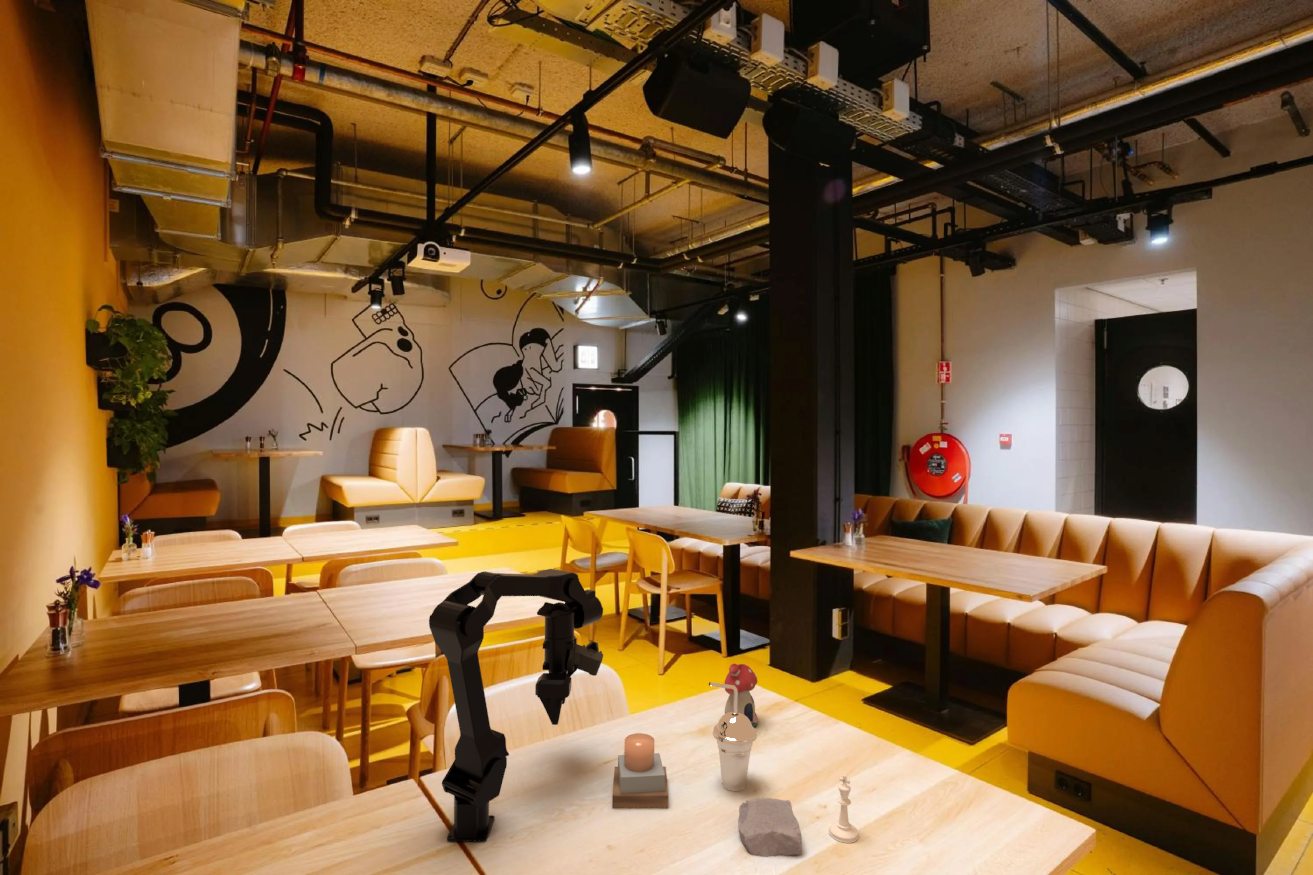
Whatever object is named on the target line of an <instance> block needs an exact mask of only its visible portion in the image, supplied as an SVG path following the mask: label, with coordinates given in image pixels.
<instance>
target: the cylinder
mask: <svg viewBox="0 0 1313 875" xmlns="http://www.w3.org/2000/svg"><path fill="white" fill-rule="evenodd" d="M623 748H624V752H623V755H624V766H625V767H626V768H627V769H628V770H630V771H634V772H644V771H648V770H650V769H652V768H653V766H654V753H655V738H654V737H653V736H652V735H650V734H647V733H640V732H639V733H637V732H636V733H631V734H628V735H627V736H625V738H624V747H623Z"/></svg>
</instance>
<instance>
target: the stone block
mask: <svg viewBox="0 0 1313 875" xmlns="http://www.w3.org/2000/svg"><path fill="white" fill-rule="evenodd" d="M738 808H739V809H738V813H739V814H738V818H737V819H738V820H737V821H738V823H737V826H738V827H737V830H738V832H739V837H740V841H741V843H742V845H743V846H744V847H745V849H746V850H747V852H749V854H750V855H752V856H759V857H765V858H768V857H771V858H772V857H779V856H783V857H790V856H800V855H801V853H802V832H801V829H800V828H801V827H800V824H799V822H798V819H797V818H796V816H795V814H794V811H793V806H792V803H791V801H790V800H788V799H787V800H785V799H778V798H772V797H756V798H753V799H750V800H749V799H748V800H745V801H744V802H742V803H741V804H740V805H739V807H738Z"/></svg>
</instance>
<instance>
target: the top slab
mask: <svg viewBox="0 0 1313 875" xmlns="http://www.w3.org/2000/svg"><path fill="white" fill-rule="evenodd" d="M617 767H618V775H619V783H620V791H621V794H629V793H646V792H664V791H665V773H664V769H663V767H664V766H663V761H662V758H661V754H660V753H659V752H657V753H656V752H654V766H653V768H652V769H650V770H648V771H644V772H634V771H630V770H628V769H627V768H626V767H625V766H624V754H618V755H617Z"/></svg>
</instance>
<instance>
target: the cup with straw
mask: <svg viewBox="0 0 1313 875" xmlns="http://www.w3.org/2000/svg"><path fill="white" fill-rule="evenodd" d="M708 687H715V688H723V689H725V688H729V689H733V690H734V711H733V712H728V713H726V714H725V713H724V714H723V715H722V716H721V717H720V719H718V722H717V723H716V724H715V725H714V726H713V729H712V736H713V738H714V739H715V740H716V744H717V748H718V756H719V764H720V775H721V776H720V777H721V785H722V787H723V788H724V789H726V790H728V791H730V792H740V791H743V790H744V789H745V788H746V786H747V785H746V784H747V783H746V782H747V779H748V773H749V772H748V771H749V763H750V756H751V751H752V747H753V744H754V743H753V742H755V741H756V740H757V739H758V734H757V730H756V727H755V728H754V727H753V726H752V724H751V722H750V720H749V719H748V717H747V716H745V715H744V714H742V713H740V712H737V698H738V691H737V688H736V687H735V686H734V685H728V684H724V683H719V682H711V681H709V683H708Z"/></svg>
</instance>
